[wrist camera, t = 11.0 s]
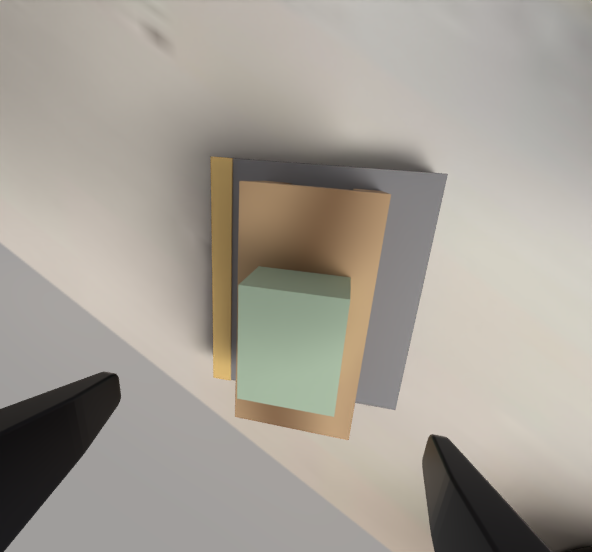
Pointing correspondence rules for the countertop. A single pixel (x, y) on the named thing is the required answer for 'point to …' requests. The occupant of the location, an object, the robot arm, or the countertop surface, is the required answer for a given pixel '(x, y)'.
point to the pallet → (315, 259)
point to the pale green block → (291, 338)
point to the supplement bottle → (582, 549)
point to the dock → (391, 272)
